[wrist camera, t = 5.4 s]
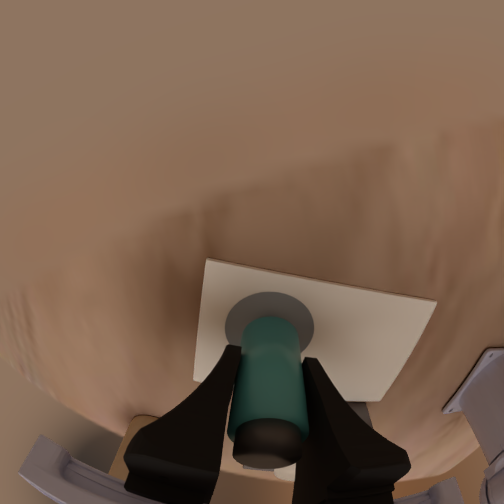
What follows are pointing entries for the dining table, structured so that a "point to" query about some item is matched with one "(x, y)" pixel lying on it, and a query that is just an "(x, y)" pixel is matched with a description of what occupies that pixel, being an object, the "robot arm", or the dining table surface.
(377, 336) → the paper
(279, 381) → the bottle
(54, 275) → the dining table surface
